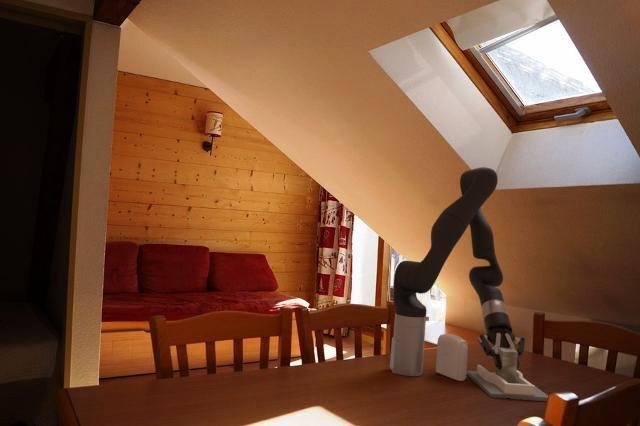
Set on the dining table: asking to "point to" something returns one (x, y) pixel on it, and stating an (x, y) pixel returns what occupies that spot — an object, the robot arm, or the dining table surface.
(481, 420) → the dining table surface
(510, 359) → the sage hanger block
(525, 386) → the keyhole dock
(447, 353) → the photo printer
